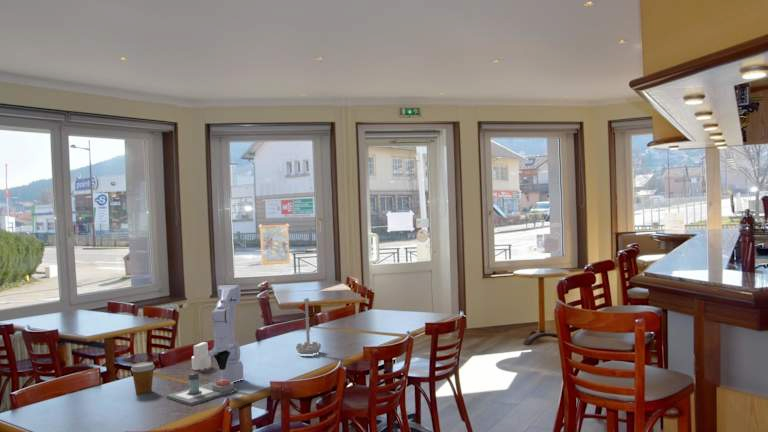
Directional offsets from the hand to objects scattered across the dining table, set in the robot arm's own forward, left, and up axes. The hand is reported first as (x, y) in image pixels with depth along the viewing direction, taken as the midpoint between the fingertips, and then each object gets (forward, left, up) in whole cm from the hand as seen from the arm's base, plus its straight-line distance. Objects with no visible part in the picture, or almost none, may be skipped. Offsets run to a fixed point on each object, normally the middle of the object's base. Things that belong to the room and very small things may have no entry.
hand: (222, 369), depth 248 cm
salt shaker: (+10, -6, -8) cm, 14 cm away
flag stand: (-66, -18, -10) cm, 69 cm away
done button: (0, 0, -7) cm, 7 cm away
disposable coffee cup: (+19, -31, -10) cm, 38 cm away
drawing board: (+7, -5, -10) cm, 13 cm away
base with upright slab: (-18, -44, -10) cm, 49 cm away
